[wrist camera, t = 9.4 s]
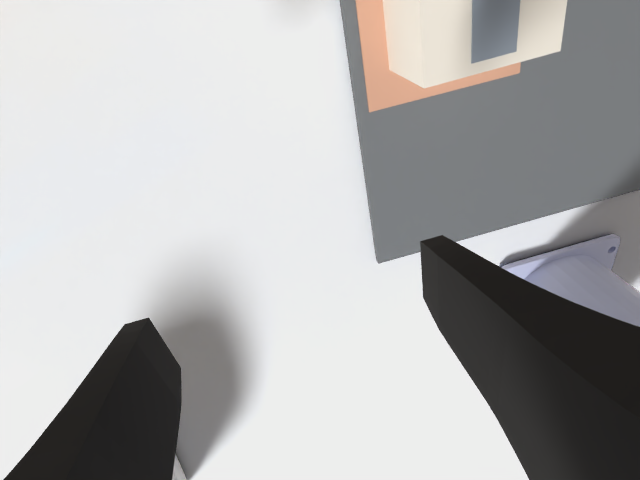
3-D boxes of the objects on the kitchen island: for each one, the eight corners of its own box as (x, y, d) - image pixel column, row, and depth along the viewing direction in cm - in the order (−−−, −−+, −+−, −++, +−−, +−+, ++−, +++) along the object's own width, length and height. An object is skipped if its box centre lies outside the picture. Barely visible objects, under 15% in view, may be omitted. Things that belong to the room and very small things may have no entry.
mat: (650, 182, 23) (658, 185, 23) (376, 259, 22) (379, 264, 22) (841, -405, 12) (864, -419, 11) (298, -295, 11) (300, -306, 11)
